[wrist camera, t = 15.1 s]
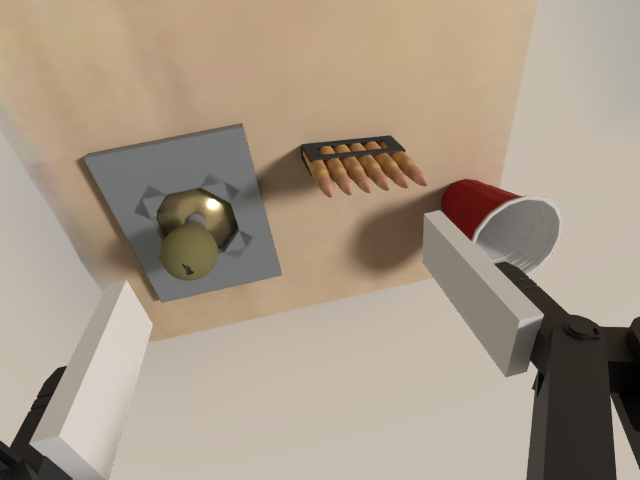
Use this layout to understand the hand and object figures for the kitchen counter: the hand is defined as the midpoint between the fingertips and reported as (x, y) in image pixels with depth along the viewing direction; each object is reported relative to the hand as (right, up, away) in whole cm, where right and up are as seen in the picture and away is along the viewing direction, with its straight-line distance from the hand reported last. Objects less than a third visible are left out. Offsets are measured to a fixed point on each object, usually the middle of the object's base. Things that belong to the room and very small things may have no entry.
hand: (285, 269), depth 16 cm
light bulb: (-13, +4, +27) cm, 30 cm away
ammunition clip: (+5, +12, +26) cm, 29 cm away
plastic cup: (+21, +7, +32) cm, 39 cm away
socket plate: (-13, +4, +27) cm, 30 cm away
